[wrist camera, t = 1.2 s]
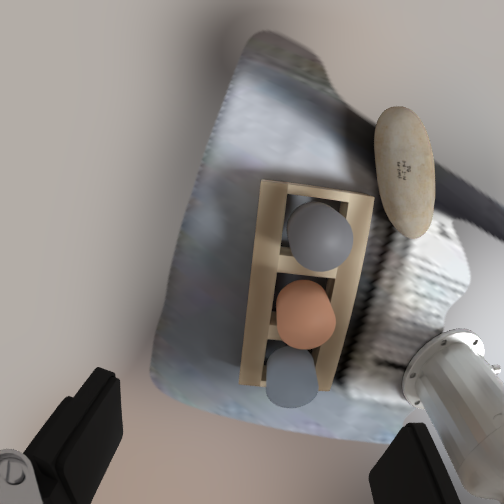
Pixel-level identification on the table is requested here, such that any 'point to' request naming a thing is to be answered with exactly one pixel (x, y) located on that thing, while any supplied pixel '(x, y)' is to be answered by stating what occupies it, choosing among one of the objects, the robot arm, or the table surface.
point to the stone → (405, 170)
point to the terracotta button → (304, 315)
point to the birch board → (282, 260)
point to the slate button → (291, 377)
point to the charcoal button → (319, 236)
